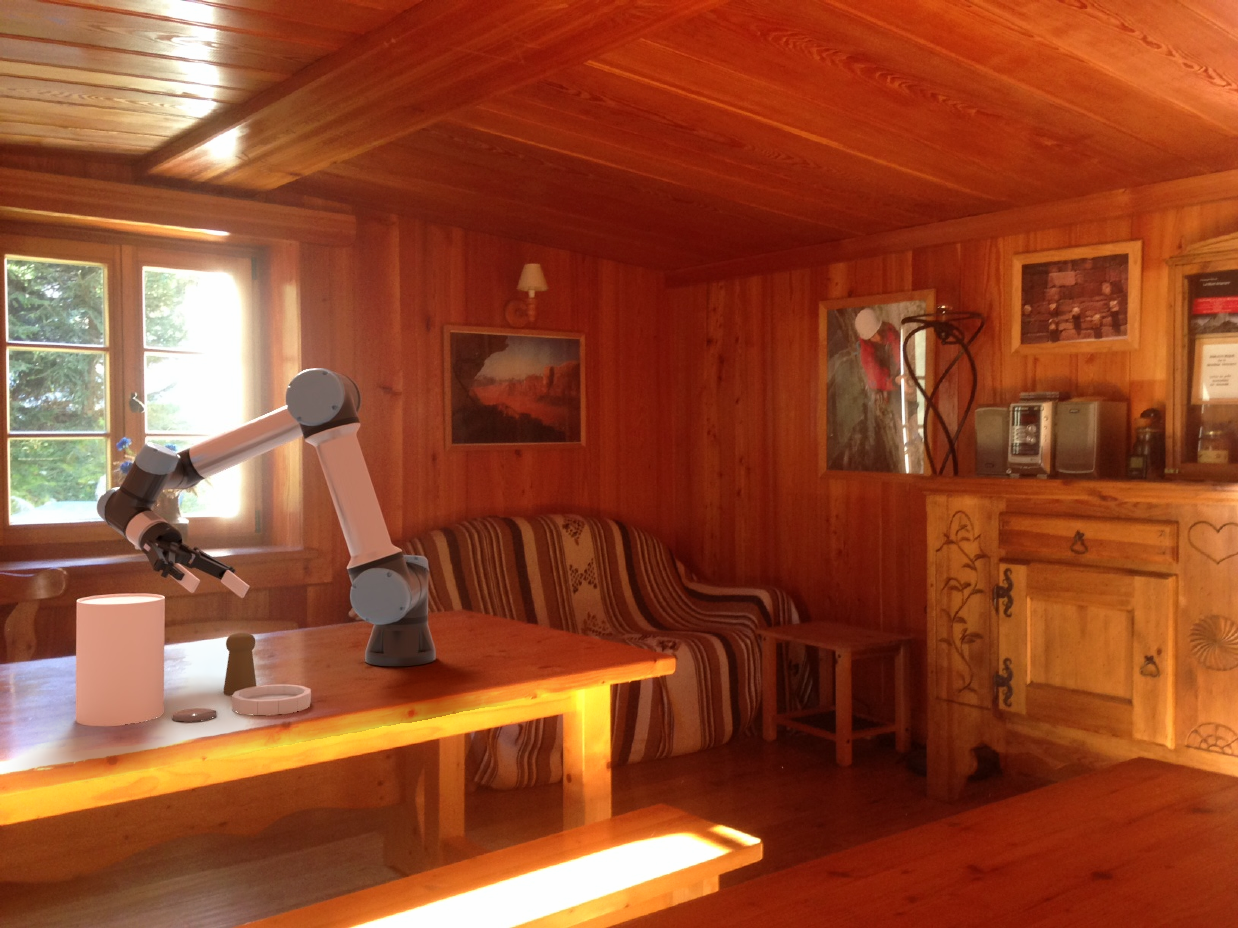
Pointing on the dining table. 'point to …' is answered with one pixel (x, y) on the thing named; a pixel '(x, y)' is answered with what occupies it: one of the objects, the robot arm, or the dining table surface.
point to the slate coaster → (194, 715)
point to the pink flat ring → (271, 699)
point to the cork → (239, 663)
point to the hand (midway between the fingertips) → (221, 589)
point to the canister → (119, 659)
